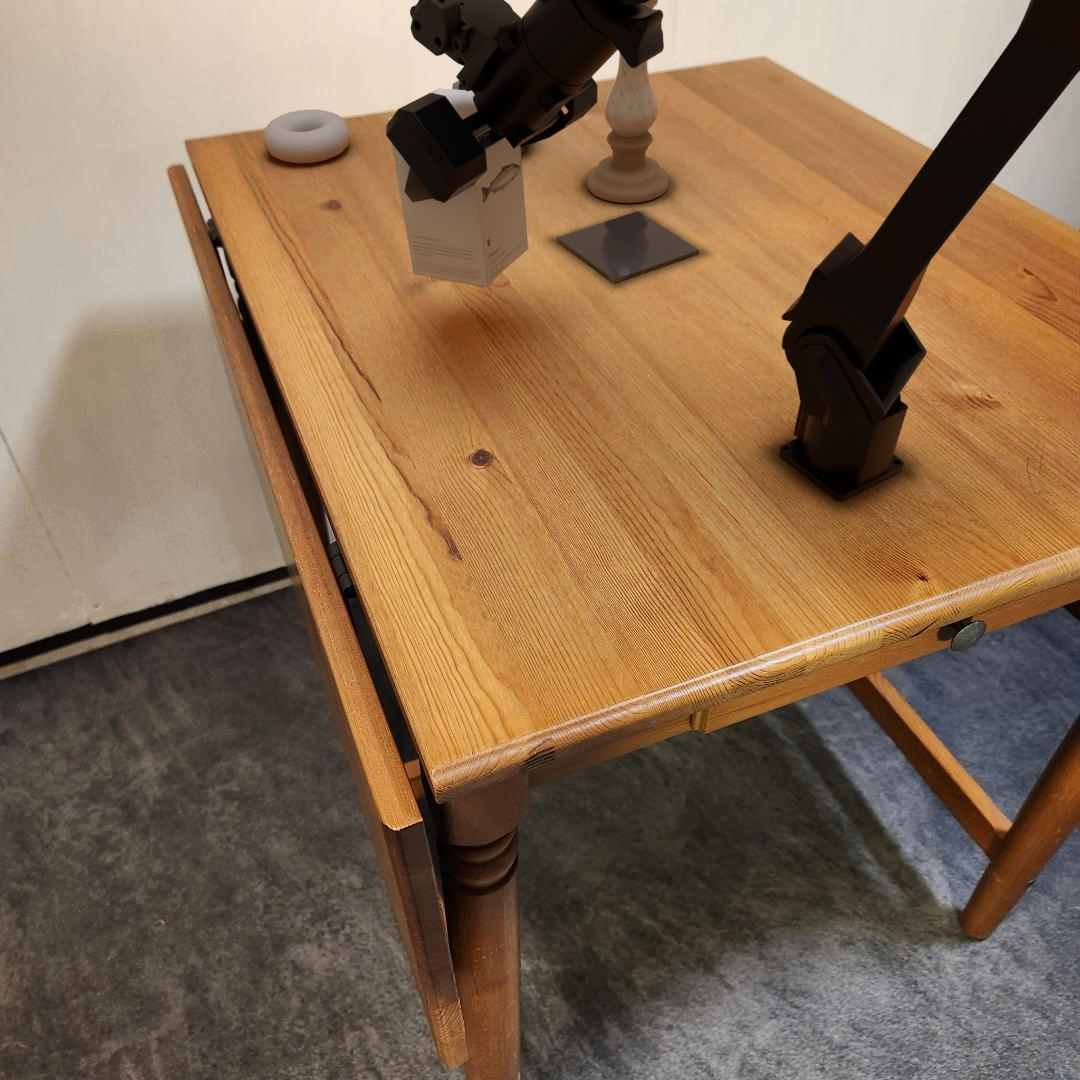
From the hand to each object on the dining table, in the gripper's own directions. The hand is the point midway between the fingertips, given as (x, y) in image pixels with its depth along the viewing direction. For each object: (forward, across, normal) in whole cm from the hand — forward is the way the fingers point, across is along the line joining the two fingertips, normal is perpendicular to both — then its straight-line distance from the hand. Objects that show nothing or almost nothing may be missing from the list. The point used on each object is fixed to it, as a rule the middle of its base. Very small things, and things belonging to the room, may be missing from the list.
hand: (444, 175), depth 74 cm
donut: (+36, -20, -18) cm, 45 cm away
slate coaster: (+6, -20, +13) cm, 24 cm away
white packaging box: (+4, 0, +6) cm, 8 cm away
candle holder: (+10, -31, +9) cm, 34 cm away
